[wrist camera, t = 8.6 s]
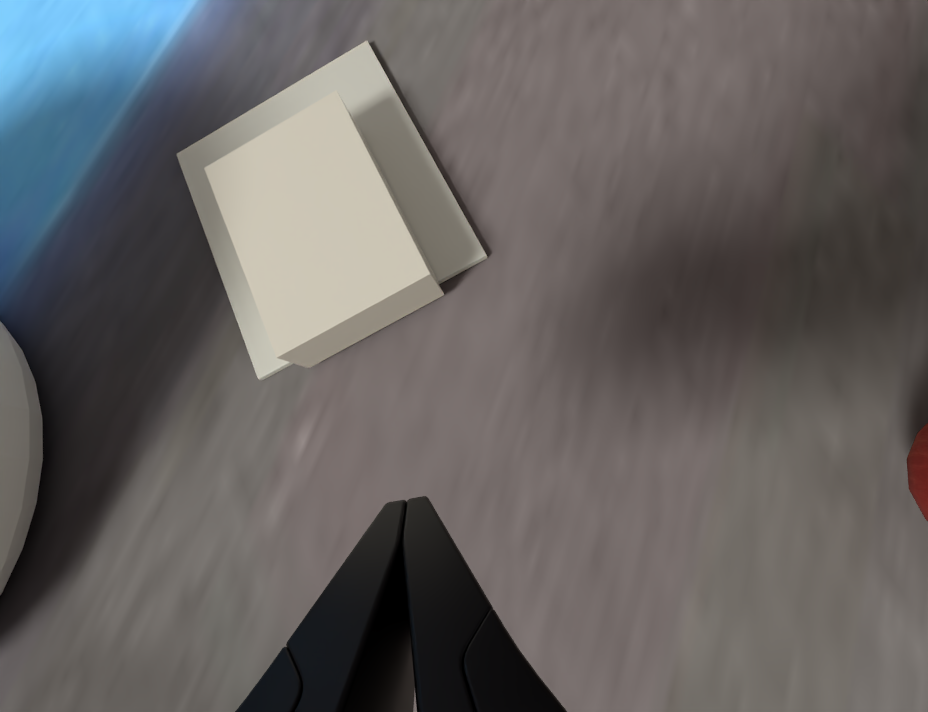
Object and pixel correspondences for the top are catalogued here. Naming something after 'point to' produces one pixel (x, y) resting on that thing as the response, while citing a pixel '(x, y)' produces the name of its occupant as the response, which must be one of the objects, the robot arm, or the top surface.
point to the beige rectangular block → (319, 234)
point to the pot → (17, 451)
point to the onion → (919, 470)
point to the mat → (394, 152)
